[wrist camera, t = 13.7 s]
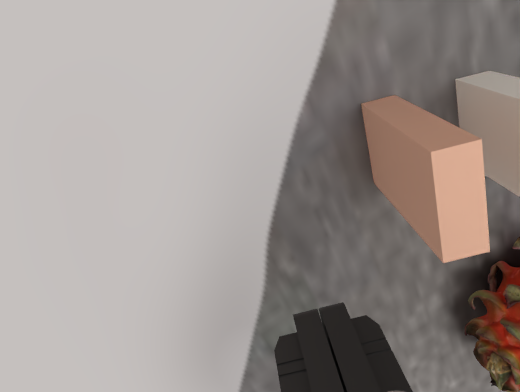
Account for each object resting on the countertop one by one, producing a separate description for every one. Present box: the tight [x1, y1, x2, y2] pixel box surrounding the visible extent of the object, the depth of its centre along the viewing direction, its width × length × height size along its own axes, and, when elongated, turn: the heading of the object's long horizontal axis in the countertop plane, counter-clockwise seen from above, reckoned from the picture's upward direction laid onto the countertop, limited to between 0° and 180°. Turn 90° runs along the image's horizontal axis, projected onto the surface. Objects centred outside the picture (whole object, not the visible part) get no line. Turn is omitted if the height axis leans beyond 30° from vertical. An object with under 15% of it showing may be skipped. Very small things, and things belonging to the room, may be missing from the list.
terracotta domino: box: [361, 95, 490, 263], centre depth 24 cm, size 2×5×10 cm, turn 14°
